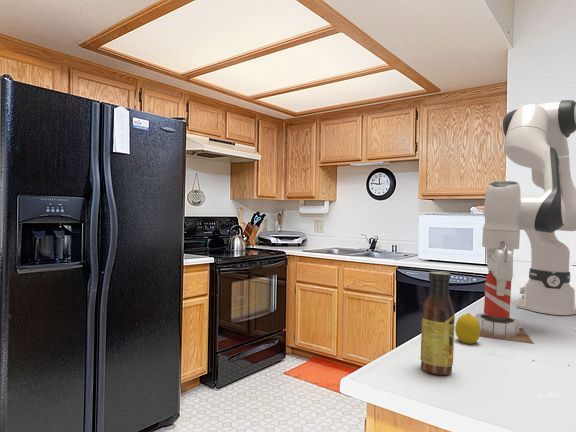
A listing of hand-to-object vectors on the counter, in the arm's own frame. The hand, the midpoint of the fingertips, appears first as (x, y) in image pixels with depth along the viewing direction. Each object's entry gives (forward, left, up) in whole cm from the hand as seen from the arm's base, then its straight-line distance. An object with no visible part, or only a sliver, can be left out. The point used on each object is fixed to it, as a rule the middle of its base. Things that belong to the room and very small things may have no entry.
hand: (498, 292), depth 109 cm
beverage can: (0, 0, -7) cm, 7 cm away
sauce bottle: (+34, -15, -12) cm, 39 cm away
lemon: (+14, -8, -12) cm, 20 cm away
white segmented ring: (0, 0, -10) cm, 10 cm away
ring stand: (0, 0, -11) cm, 11 cm away
